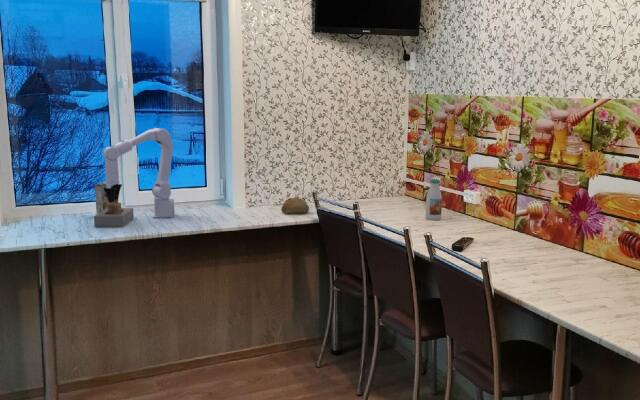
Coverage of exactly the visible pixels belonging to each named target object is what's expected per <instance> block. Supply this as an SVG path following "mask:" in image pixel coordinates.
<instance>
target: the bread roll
mask: <svg viewBox="0 0 640 400" xmlns="http://www.w3.org/2000/svg"><path fill="white" fill-rule="evenodd" d="M280 211H281V213H283V214H307V213H308V212H309V211H310V207H309V205H308V203H307V202H306V200H304V199H302V198H299V197H292V198H287V199H286V200H285V201H284V202H283V204H282V206H281V209H280Z"/></svg>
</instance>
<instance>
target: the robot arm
mask: <svg viewBox="0 0 640 400" xmlns="http://www.w3.org/2000/svg"><path fill="white" fill-rule="evenodd" d="M146 141H153V142H155V143H157V144H158V145H159V146H160V147H161V150H160V151H161V152H160V159H159V167H158V173H157V179H156V180H155V181H154V185H153V187H152V190H151V192H152V195H153V197H154V201H153V202H154V215H152V218H157V219H158V218H159V219H160V218H173V217H174V216H175V213H176V212H175V200H174V199H173V198H170V196H171V194H172V192H171V184H170V181H169V178H170V172H171V166H172V157H173V151H174V143H173V141H172V139H171V133H170V132H169V131H168V130H167V129H165V128H158V127H153V128H151V129H148V130H146V131H144V132H142V133H140V134H139V135H137V136H135V137H133V138H132V139H130V140H129V139H127V138H126V139H123V138H122V139H121V140H120V141H119V142H117V143H116V144H113V143H112V144H111V146H107V147H105V148H104V149H103V152H102V156H103V158H104V166H105V167H104V168H105V181H103V183H104V184H106V187H105V188H104V191H105V192H106V195H107V197H108V201H109V203H113V202H114V200H118V201H119V197H120V192H121V188H122V186H123V185H122V184H121V183H120V179H119V177H120V176H119V163H118V161H119V158H120V156H122V155H125V154H127V153H129V152H131V151H132V150H133V147H135V146H138V145H139V144H142V143H144V142H146Z"/></svg>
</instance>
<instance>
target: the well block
mask: <svg viewBox="0 0 640 400" xmlns="http://www.w3.org/2000/svg"><path fill="white" fill-rule="evenodd" d="M121 211H122V212H121V213H120V214H108V208H106V209H104V210H103V211H101V212H100V213H98V214H97V213H96V214H95V215H93V223H94V226H93V227H94V228H114V227H115V228H124V227H125V226H126V225H127V224H128V223H129V222H130V221H132V220H133V219H134V218H135V217H134V215H135V214H134V207H121Z"/></svg>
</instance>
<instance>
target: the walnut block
mask: <svg viewBox="0 0 640 400" xmlns="http://www.w3.org/2000/svg"><path fill="white" fill-rule="evenodd" d="M121 208H122V202H118V203H110V204H108V214H120V213H121V212H122V211H121Z"/></svg>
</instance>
